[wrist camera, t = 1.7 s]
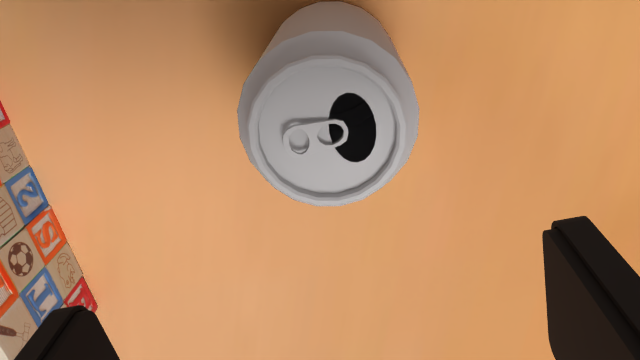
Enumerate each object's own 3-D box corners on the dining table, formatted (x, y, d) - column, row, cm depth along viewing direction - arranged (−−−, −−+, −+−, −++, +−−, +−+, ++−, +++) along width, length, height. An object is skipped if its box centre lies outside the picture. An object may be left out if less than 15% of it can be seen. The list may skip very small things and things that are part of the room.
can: (401, 114, 31) (434, 209, 21) (282, 133, 32) (254, 234, 21) (386, -13, 28) (416, 20, 17) (255, 11, 29) (205, 58, 18)
